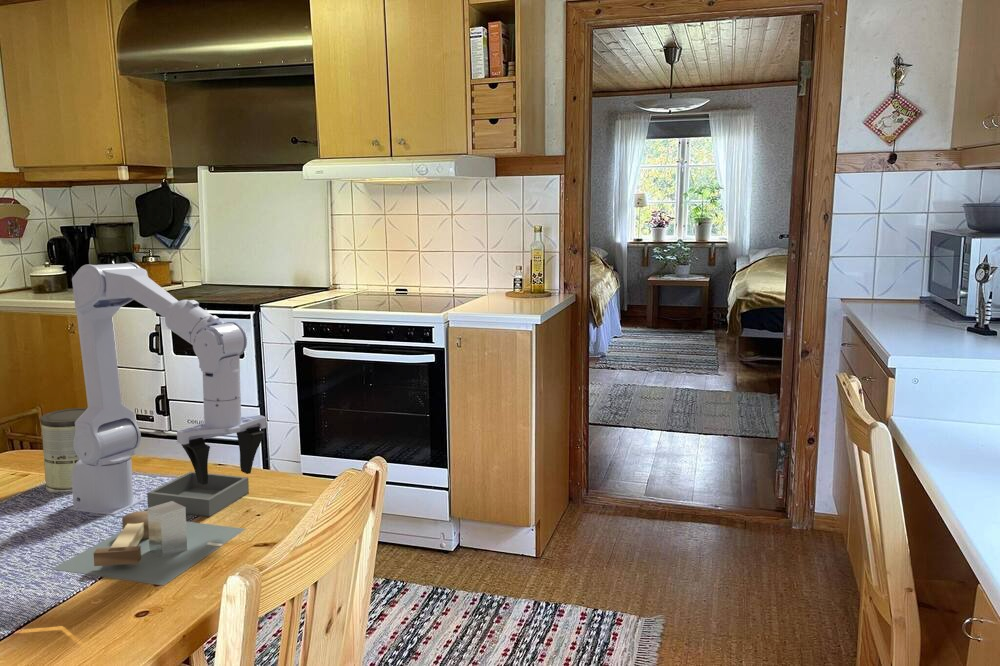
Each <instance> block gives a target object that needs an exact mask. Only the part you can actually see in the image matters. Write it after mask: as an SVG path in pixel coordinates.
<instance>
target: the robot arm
mask: <svg viewBox="0 0 1000 666" xmlns="http://www.w3.org/2000/svg"><path fill="white" fill-rule="evenodd" d="M148 274H149V273H148V271H147V269H145V268H143V267H141V266H139V265H138V264H137V263H135V262H130V261H129V262H126V263H109V264H107V263H106V264H84V265H82V266H80V268H78V270H77V271H76V273H75V274H74V275H73V276H72V278H71V282H72V283H71V284H72V289H73V292H72V293H73V299H74V307H75V312H76V321H77V328H78V337H79V344H80V352H81V361H82V368H83V376H84V377H83V378H84V385H85V386H84V387H85V393H86V395H85V396H86V402H87V403H86V404H87V407H86V408H87V409H86V410H85V412H84V413H83V414H82V415H81V416H80V417H79V418H78V419H77V420H76V421H75V436H74V441H73V446H74V451H75V453H76V455H77V456H78V457H79V459H80V460H79V461H77V463H76V464H75V465H74V468H73V470H72V491H71V492H72V504H73V506H71V507H69V510H70V511H77V512H83V513H85V512H86V513H90V514H91V513H92V514H93V513H94V514H101V515H109V516H117V515H118V514H120V513H122V512H124V511H126V510H128V509H130V508H132V507H133V506H137V505H138V504H140V503H141V502H144V501H145V498H143V497H137V496H134V488H133V471H132V470H133V469H132V468H133V467H132V466H133V465H132V457H134V456H135V450H136V449H137V448H139V446H140V444H141V439H142V438H141V437H142V435H141V430H140V428H139V425H138V422H137V421H136V417H135V416H136V415H135V411H134V410H133V409H131V408H129V407H128V406H126V405H124V404H123V403H122V393H121V384H120V378H119V377H120V375H119V368H118V360H117V350H116V342H115V341H116V340H115V335H114V333H115V332H114V324H113V317H114V315H116V314H117V312H118V311H119V310H120V308H123V306H126V305H127V304H129V303H131V302H132V301H135V302H137V303H139V304H140V305H143V306H144V307H146V308H148V309H149V310H151V311H153V312H154V313H156V314H158V315H160V316H161V317H163V318H164V322H165V325H166V328H167V329H169V330H170V331H172V332H173V333H174V334H176V335H177V336H178V337H180V338H181V339H183V340H184V341H186V342H187V343H189V344H190V345H192V349H193V352H194V354H195V356H196V357H197V359H198V363H199V365H198V366H199V369H200V371H201V372H202V387H203V388H202V393H203V394H202V395H203V396H202V397H203V423H200V424H197V425H194V426H191V427H186V428H183V429H177V430H176V440H177V441H176V442H177V443H179V444H180V445H181V446H182V448H183V449H184V451H185V452H186V454H187V456H188V458H189V459H190V460H189V461H190V462H191V464H192V467H193V469H194V472H195V473H196V477H197V481H198V482H199V483H201V484H202V485H205V484H208V473H209V471H208V469H209V468H208V462H209V455H210V450H211V446H210V445H208V444H206V441H205V440H206V439H211V438H212V439H213V438H217V437H221V436H225V435H231V434H236V436H237V441H238V448H239V467H240V471H241V472H242V473H244V474H246V475H248V474H251V473H252V468H253V465H254V460H255V457H256V454H257V451H258V449H259V446H260V444H261V443H262V441H263V439H264V437H265V432H264V431H263V430H261V429H266V428H267V419H266V418H267V417H266V416H264V415H261V414H258V415H251V416H250V415H249V416H242V402H241V401H242V399H241V396H242V395H241V394H242V393H241V364H240V361H241V360H240V357H241V355H243V353H244V352H245V351H246V348H247V344H248V338H247V335H246V332H245V330H244V328H242V327H241V326H240V325H239V324H238V322H235V321H227V322H225V321H223V320H220V317H218V316H217V315H212V314H211V313H210V312H208V311H207V310H205V309H204V308H202V307H200V303H199V302H198V301H197V300H195V299H182V300H178V299H177V298H175V297H174V296H173V295H172V294H171V293H169V292H168V291H167V290H165V289H164V288H163V287H162V286H160V285H159V284H157V282H155V281H154V280H152V278H150V277H149V275H148Z"/></svg>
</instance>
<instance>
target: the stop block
mask: <svg viewBox="0 0 1000 666" xmlns="http://www.w3.org/2000/svg"><path fill="white" fill-rule="evenodd" d="M147 511H148V528H149V548H150V551H151V552H153V553H154V554H156V555H158V556H160V557H161V558H165V557H168V556H171V555H173V554H176V553H179V552H182V551H185V550H187V531H186V522H187V515H186V507H184V506H182V505H180V504H178V503H175V502H173V501H170V502H167V503H163V504H160V505H156V506H153V507H149V508H148V507H147Z"/></svg>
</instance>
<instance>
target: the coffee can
mask: <svg viewBox="0 0 1000 666" xmlns="http://www.w3.org/2000/svg"><path fill="white" fill-rule="evenodd" d="M87 408H88V407H82V408H81V407H78V408H77V407H76V408H66V409H65V408H64V409H60V410H53V411H51V412H47V413H45V414H43V415H41V416H40V417H39V422H40V423H41V438H42V449H43V450H42V451H43V463H44V466H43V467H44V479H45V480H44V481H45V489H46V491H48V492H49V493H54V494H58V493H59V492H72V470H73V468H74V465H75V464H76V463H77V461H79V460H80V459H79V457H78V456H77V455H76V453H75V451H74V446H73V441H74V436H75V421H76V420H77V419H78V418H79V417H80V416H81V415H82V414H83V413H84V412H85V410H86V409H87Z"/></svg>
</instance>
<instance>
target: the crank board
mask: <svg viewBox="0 0 1000 666" xmlns="http://www.w3.org/2000/svg"><path fill="white" fill-rule="evenodd" d="M186 531H187V550H185V551H182V552H179V553H176V554H173V555H171V556H168V557H165V558H161V557H160V556H158V555H156V554H154V553H153V552H151V551H150V548H149V538H147V539H143V540H140V542H139V543H138V545H137V546H141V560H140V562H139V563H137V564H121V565H106V566H94V554H93V553H94V552H95V551H96V549H100V548H110V547H111V546H112V544H113V543H114V542H115V540H116V539H117V537H118V536H119V535H120V533H121V532H122V530H121V531H119V532H117V533H115V534H113V535H112V536H110V537H108V538H106V539H104V540H102V541H100V542H99V543H97V544H95V545H93V546H91V547H89V548H88V549H86V550H84V551H82V552H80V553H78V554H76V555H74V556H72V557H71V558H69V559H67V560H65V561H64V562H61V563H60V564H58V565H56V566H55V567H52V568H51V570H52V571H53V570H54V571H62V572H66V573H67V572H69V573H74V574H81V575H89V576H95V577H101V578H109V579H114V580H115V579H116V580H123V581H129V582H135V583H142V584H150V585H156V586H161V587H162V586H163V587H164V586H165V585H167V584H168V583H170V582H171V581H173V580H175V579H176V578H177V577H179V576H180V575H182V574H183V573H184V572H186V571H187V570H188V569H190V568H191V567H193V566H194V565H196V564H198V563H199V562H200V561H202V560H204V559H205V558H207V557H208V556H209V555H210V554H212V553H213V552H215V551H216V550H218V549H220V548H221V547H222V546H224V545H225V544H227V543H228V542H229V541H232V539H233V538H235V537H236V536H238V535H239V534H241V533H243V532H244V531H246V528H242V527H233V526H226V525H218V524H209V523H202V522H201V523H200V522H193V521H186Z"/></svg>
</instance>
